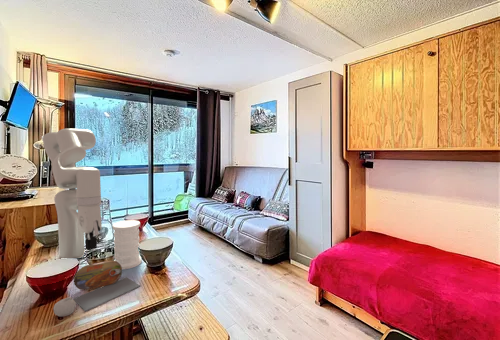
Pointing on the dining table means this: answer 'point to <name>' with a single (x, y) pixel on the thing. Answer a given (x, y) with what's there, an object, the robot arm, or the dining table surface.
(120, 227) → the decorative container
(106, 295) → the mat
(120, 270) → the tin
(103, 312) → the dining table surface
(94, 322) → the dining table surface
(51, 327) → the dining table surface
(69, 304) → the garlic
